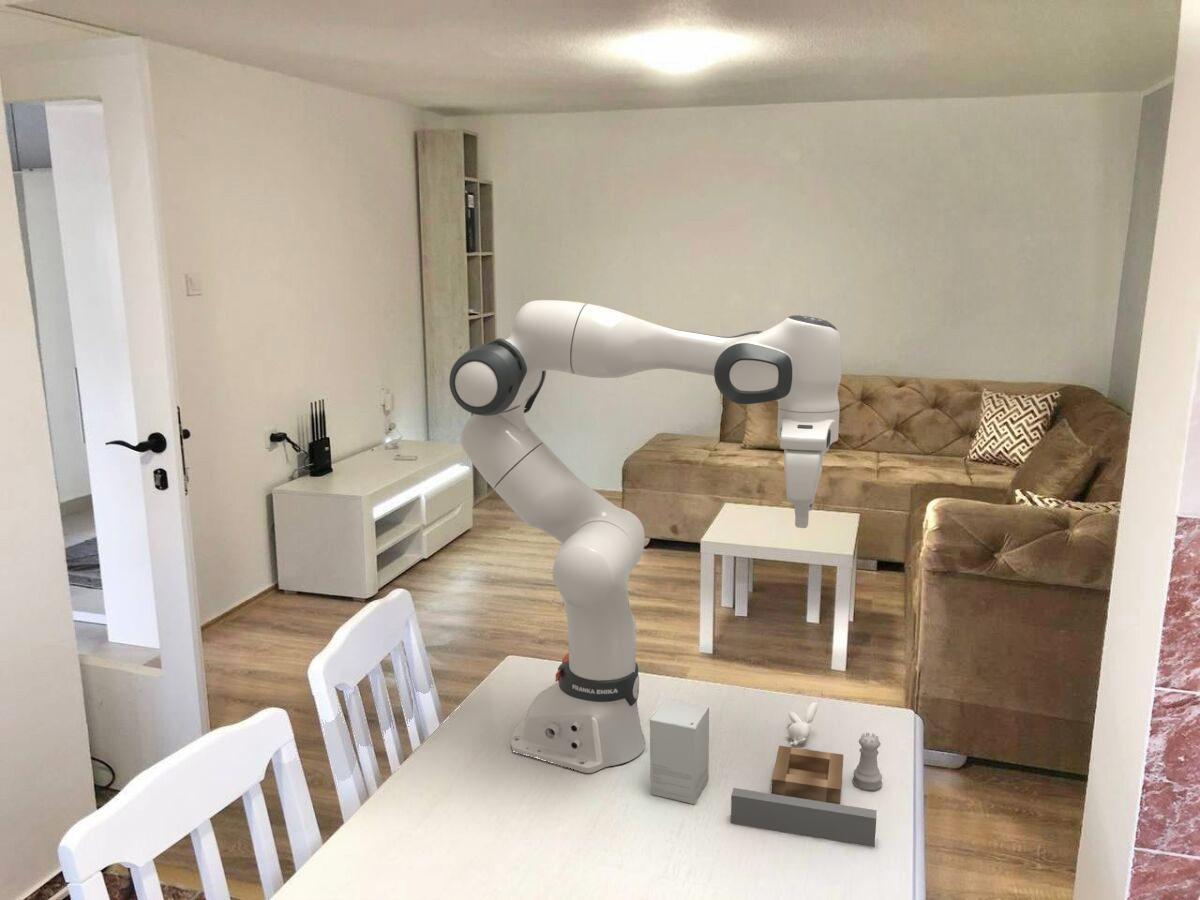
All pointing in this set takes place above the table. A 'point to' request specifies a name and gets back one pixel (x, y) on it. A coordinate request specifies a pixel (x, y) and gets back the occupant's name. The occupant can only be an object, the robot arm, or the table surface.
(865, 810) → the backstop board
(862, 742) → the rook chess piece
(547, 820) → the table surface
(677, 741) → the supplement box
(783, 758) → the socket block
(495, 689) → the table surface
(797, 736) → the rabbit figurine
